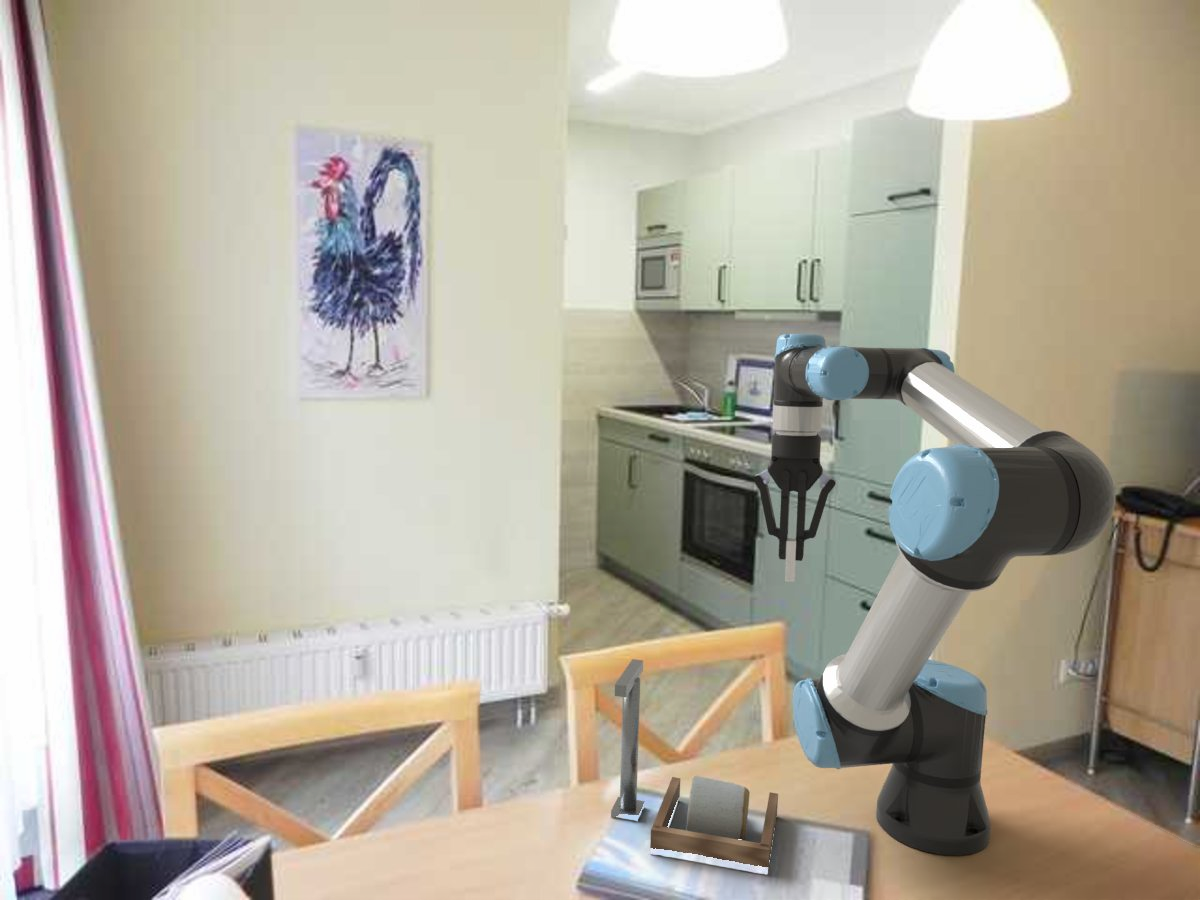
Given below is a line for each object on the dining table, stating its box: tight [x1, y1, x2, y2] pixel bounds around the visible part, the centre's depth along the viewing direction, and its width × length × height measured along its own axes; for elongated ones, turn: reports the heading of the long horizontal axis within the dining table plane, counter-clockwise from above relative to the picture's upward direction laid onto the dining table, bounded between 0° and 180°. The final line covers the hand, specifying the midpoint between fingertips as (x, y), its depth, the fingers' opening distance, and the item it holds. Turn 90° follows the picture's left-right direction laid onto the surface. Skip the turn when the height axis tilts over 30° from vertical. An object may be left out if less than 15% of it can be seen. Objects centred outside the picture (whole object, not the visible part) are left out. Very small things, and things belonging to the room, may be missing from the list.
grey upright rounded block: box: [685, 775, 751, 840], centre depth 123 cm, size 11×8×8 cm
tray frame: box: [649, 776, 779, 868], centre depth 121 cm, size 15×15×4 cm
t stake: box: [610, 658, 646, 819], centre depth 124 cm, size 4×10×22 cm, turn 164°
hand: (789, 579), depth 141 cm, fingers closed
